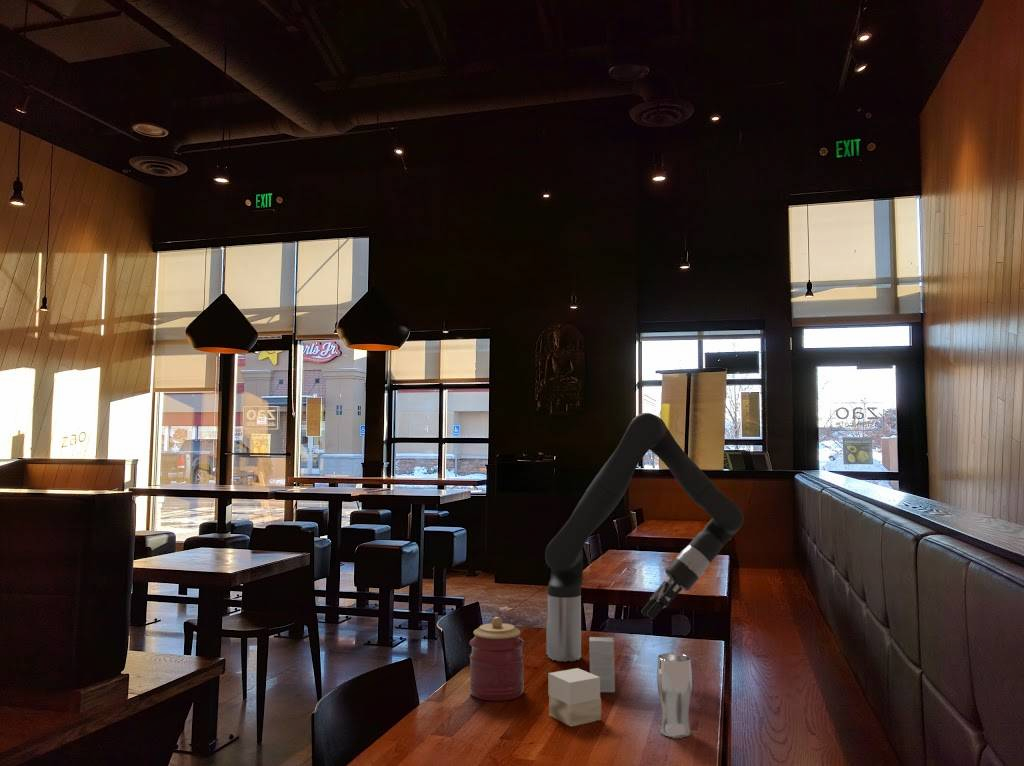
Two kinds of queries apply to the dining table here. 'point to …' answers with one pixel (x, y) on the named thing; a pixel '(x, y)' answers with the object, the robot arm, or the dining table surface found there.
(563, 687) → the tower top block
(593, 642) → the skincare box
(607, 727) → the dining table surface
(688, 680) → the beer glass
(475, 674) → the canister
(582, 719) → the tower bottom block
